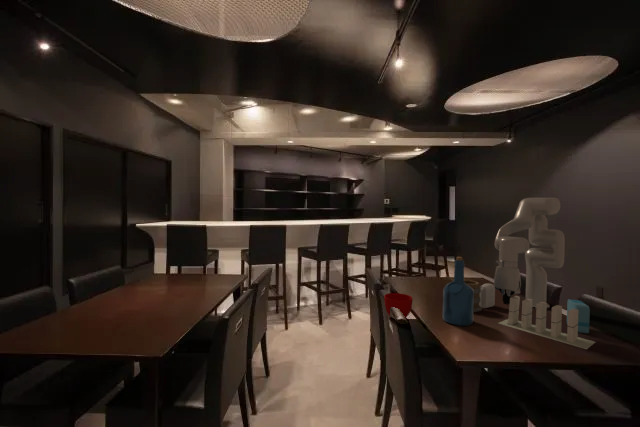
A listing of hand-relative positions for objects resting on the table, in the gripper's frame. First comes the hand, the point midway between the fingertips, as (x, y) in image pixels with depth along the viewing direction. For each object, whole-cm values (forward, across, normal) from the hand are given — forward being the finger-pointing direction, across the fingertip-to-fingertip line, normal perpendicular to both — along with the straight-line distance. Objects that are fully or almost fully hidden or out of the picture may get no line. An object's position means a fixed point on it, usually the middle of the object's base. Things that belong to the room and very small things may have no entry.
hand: (506, 303), depth 147 cm
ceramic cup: (+9, -33, -37) cm, 50 cm away
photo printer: (+9, -17, +17) cm, 26 cm away
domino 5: (+8, +25, 0) cm, 26 cm away
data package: (+9, +22, +18) cm, 30 cm away
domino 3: (+8, +14, 0) cm, 16 cm away
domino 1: (+8, +3, 0) cm, 9 cm away
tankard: (+9, -25, +5) cm, 27 cm away
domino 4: (+8, +19, 0) cm, 21 cm away
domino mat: (+9, +15, 0) cm, 17 cm away
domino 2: (+8, +8, 0) cm, 12 cm away
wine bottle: (+9, -13, -19) cm, 25 cm away
